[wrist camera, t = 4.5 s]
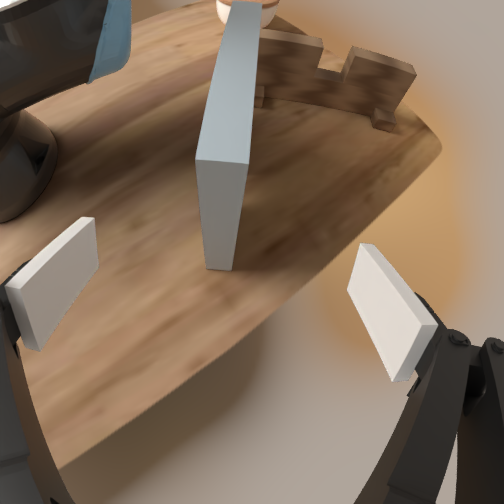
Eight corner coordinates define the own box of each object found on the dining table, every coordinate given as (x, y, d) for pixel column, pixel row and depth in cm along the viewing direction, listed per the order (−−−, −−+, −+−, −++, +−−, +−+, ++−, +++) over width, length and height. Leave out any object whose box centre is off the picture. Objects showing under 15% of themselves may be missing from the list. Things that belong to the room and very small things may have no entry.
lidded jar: (202, 30, 45) (203, -13, 36) (234, 10, 48) (238, -28, 40) (255, 47, 44) (262, 1, 35) (283, 25, 48) (291, -14, 39)
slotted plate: (231, 270, 31) (248, 163, 14) (206, 268, 31) (195, 159, 14) (243, 130, 37) (262, 3, 20) (223, 128, 37) (232, 0, 20)
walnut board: (239, 105, 39) (246, 45, 29) (243, 74, 41) (250, 19, 32) (390, 132, 40) (421, 86, 31) (381, 100, 43) (407, 55, 33)
